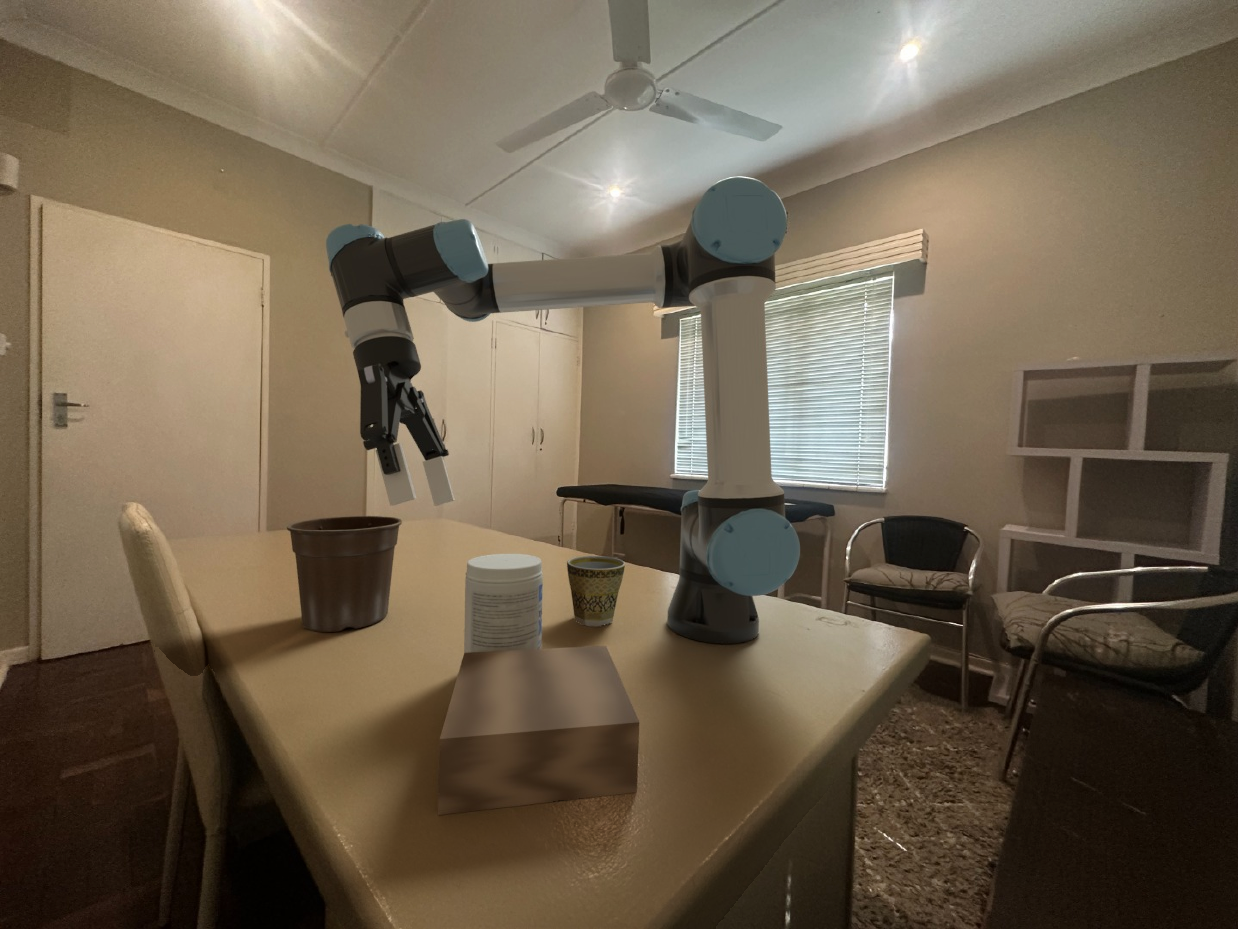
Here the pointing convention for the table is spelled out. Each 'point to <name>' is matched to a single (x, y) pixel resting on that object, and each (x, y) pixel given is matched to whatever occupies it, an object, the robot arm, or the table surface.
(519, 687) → the block
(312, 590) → the plant pot
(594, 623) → the ceramic cup
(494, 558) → the supplement tub
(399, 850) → the table surface
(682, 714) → the table surface
